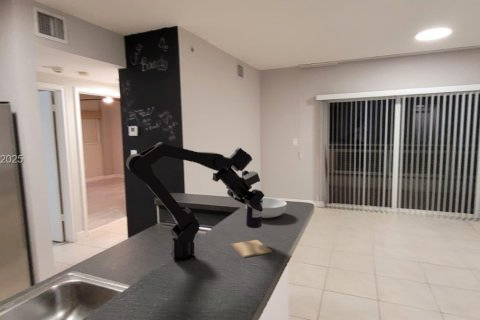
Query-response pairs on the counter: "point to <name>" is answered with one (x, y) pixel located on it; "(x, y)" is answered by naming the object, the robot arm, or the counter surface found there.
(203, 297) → the counter surface
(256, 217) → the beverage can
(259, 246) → the coaster
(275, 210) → the serving bowl
